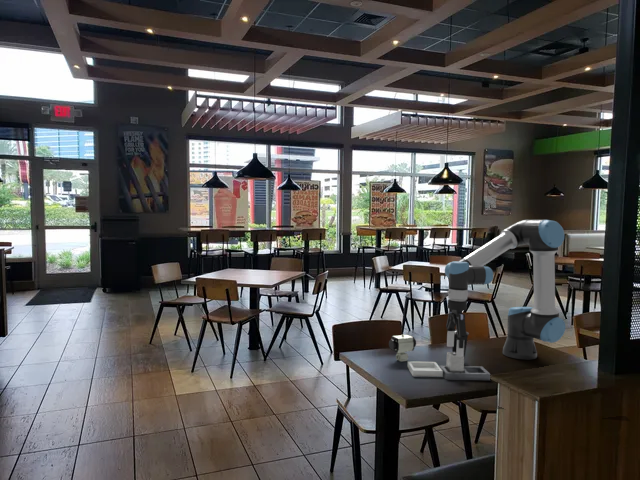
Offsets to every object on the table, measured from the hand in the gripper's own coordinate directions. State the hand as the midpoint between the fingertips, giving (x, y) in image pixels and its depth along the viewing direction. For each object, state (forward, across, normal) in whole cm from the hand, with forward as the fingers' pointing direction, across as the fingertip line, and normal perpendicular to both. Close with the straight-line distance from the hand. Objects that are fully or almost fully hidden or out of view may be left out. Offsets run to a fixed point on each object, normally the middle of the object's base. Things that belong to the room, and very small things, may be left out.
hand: (454, 351), depth 200 cm
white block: (+10, 0, 0) cm, 10 cm away
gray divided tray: (+10, 0, +4) cm, 11 cm away
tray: (+10, -4, -11) cm, 16 cm away
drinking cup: (+10, -18, +8) cm, 22 cm away
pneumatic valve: (+11, -19, -18) cm, 28 cm away
